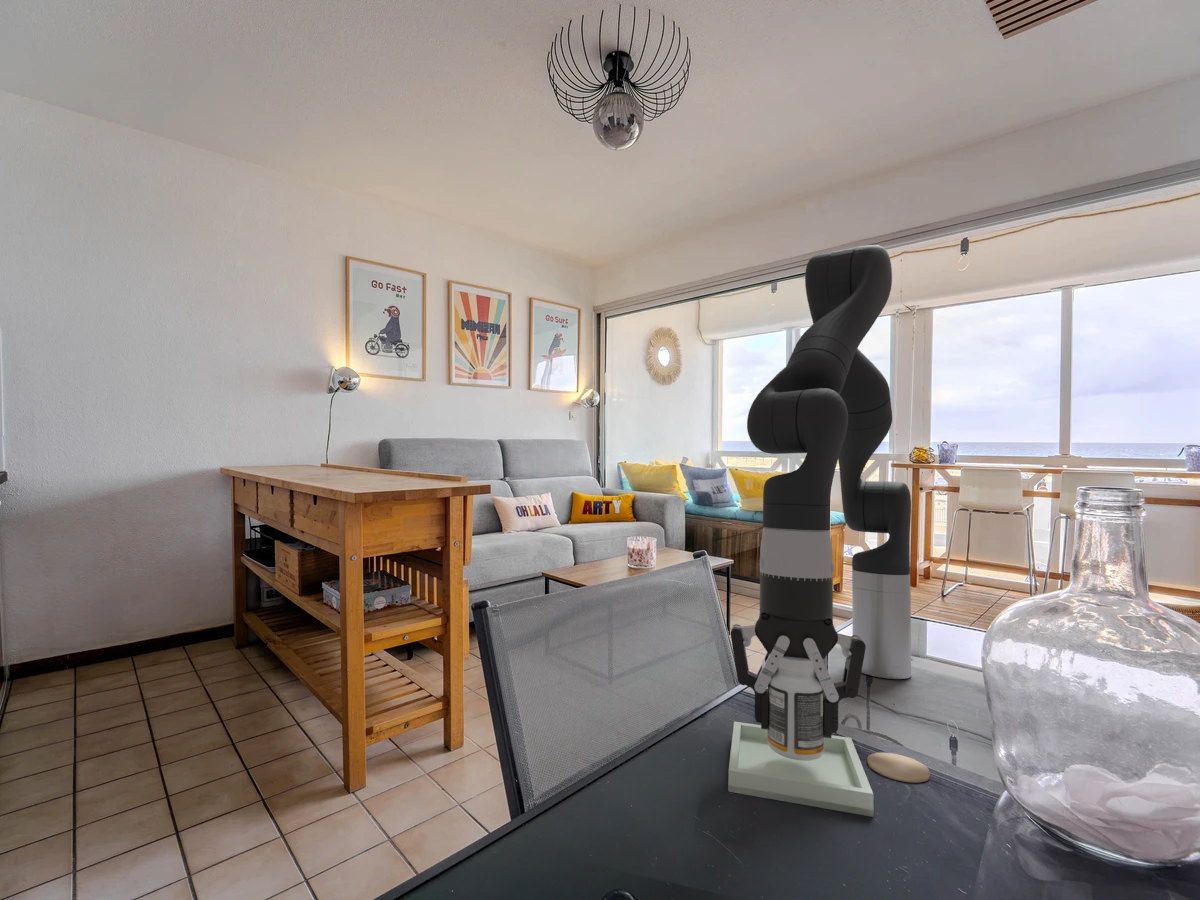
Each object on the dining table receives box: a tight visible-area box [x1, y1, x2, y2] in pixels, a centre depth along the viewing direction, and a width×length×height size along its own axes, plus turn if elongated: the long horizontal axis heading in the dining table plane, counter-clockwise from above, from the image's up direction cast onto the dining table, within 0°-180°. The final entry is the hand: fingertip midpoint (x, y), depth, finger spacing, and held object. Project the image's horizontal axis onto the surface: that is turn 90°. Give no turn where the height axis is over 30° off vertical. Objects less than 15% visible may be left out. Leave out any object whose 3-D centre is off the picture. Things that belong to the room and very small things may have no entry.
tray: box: [727, 721, 875, 818], centre depth 59 cm, size 13×13×2 cm
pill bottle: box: [767, 655, 824, 761], centre depth 60 cm, size 6×6×10 cm
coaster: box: [867, 752, 931, 784], centre depth 61 cm, size 6×6×1 cm
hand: (794, 730), depth 60 cm, fingers closed on pill bottle, 5 cm apart
